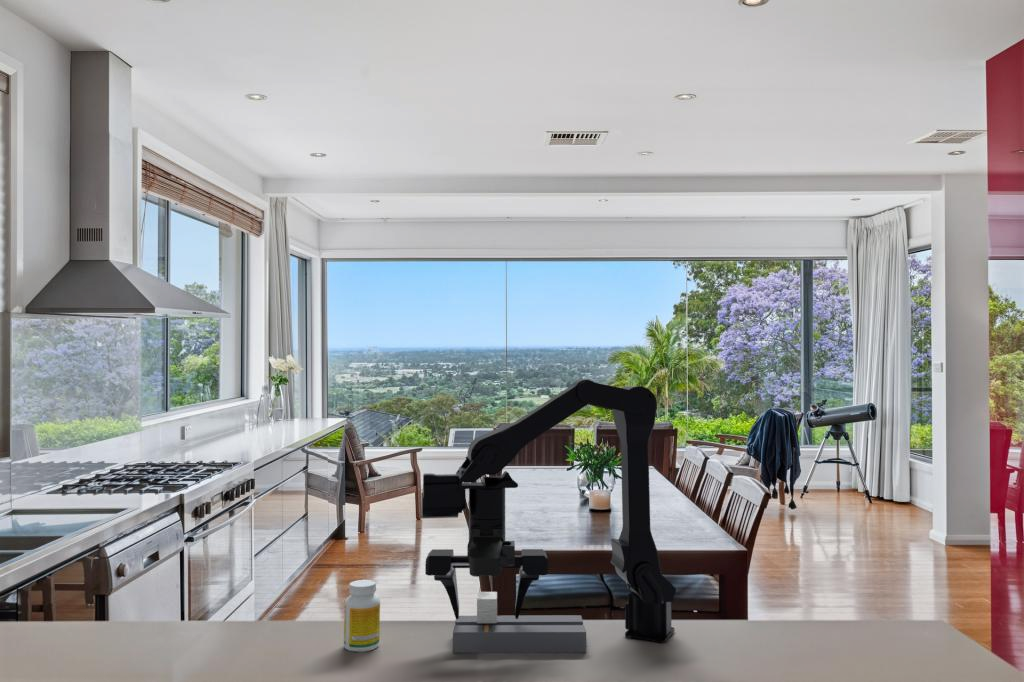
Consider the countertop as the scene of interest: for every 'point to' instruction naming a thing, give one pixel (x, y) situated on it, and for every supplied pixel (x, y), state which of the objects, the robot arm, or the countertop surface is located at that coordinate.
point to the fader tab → (487, 608)
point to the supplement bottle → (362, 617)
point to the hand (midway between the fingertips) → (487, 618)
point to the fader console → (520, 634)
